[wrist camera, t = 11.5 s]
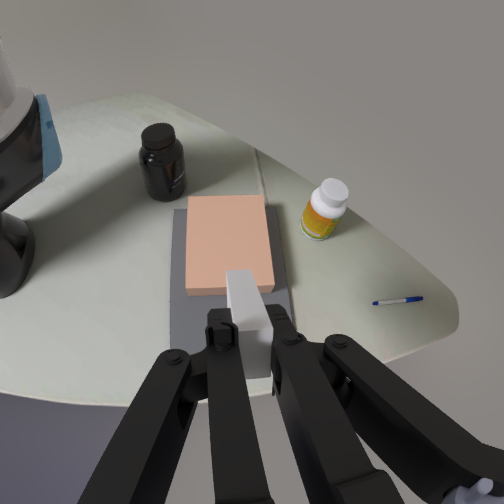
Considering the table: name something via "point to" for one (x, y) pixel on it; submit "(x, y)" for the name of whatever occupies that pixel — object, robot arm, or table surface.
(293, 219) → the table surface
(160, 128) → the supplement bottle
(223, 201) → the tile
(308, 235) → the supplement bottle
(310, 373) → the robot arm
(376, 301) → the ballpoint pen
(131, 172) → the table surface
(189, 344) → the mat
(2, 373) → the table surface
